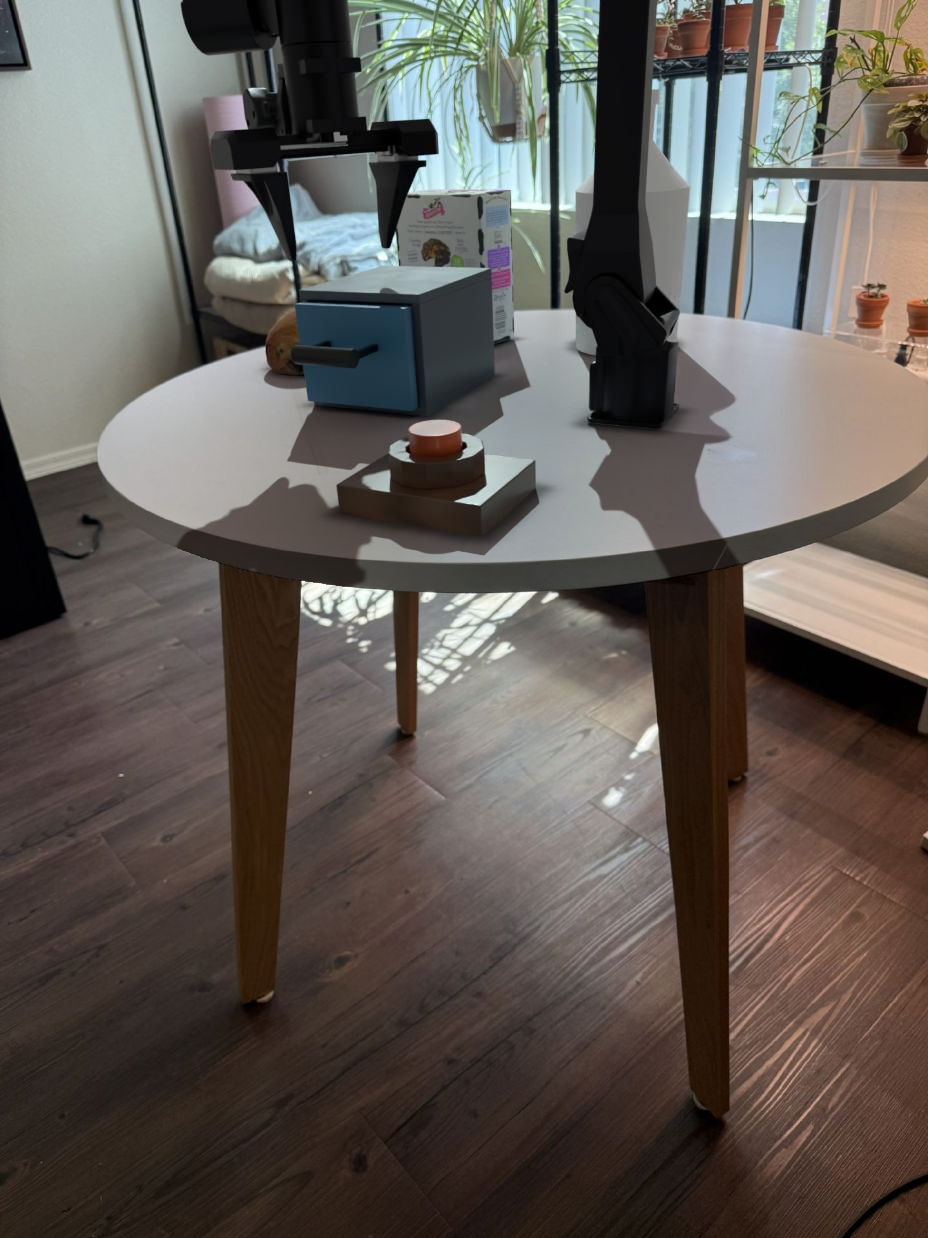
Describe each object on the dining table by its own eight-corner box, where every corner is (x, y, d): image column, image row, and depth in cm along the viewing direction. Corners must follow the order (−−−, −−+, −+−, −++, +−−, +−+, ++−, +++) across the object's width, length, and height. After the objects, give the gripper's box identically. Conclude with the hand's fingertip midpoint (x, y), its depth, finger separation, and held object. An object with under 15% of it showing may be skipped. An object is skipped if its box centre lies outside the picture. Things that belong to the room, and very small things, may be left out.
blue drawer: (382, 427, 75) (372, 320, 70) (275, 415, 79) (259, 314, 75) (477, 374, 89) (473, 282, 84) (381, 366, 93) (373, 279, 89)
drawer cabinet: (427, 416, 80) (418, 294, 75) (314, 404, 85) (298, 289, 80) (495, 376, 91) (491, 267, 86) (391, 368, 96) (381, 265, 91)
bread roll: (367, 391, 102) (376, 321, 101) (318, 373, 92) (327, 295, 91) (296, 386, 105) (304, 318, 105) (242, 368, 96) (250, 293, 95)
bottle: (569, 336, 106) (572, 95, 93) (669, 332, 105) (685, 88, 93) (577, 359, 95) (581, 92, 83) (687, 355, 95) (708, 85, 82)
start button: (471, 446, 61) (470, 422, 60) (447, 463, 58) (445, 438, 57) (426, 441, 62) (424, 417, 61) (400, 457, 59) (398, 432, 59)
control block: (536, 488, 63) (535, 434, 61) (482, 537, 56) (479, 478, 54) (404, 471, 68) (399, 420, 66) (339, 514, 61) (332, 459, 59)
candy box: (516, 338, 106) (513, 187, 98) (485, 348, 102) (479, 192, 94) (434, 327, 114) (425, 187, 106) (402, 336, 110) (390, 191, 102)
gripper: (374, 52, 81) (390, 236, 88) (173, 56, 72) (210, 258, 80) (435, 40, 72) (447, 244, 80) (216, 43, 64) (252, 270, 72)
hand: (340, 254), depth 78 cm, fingers open, 9 cm apart
